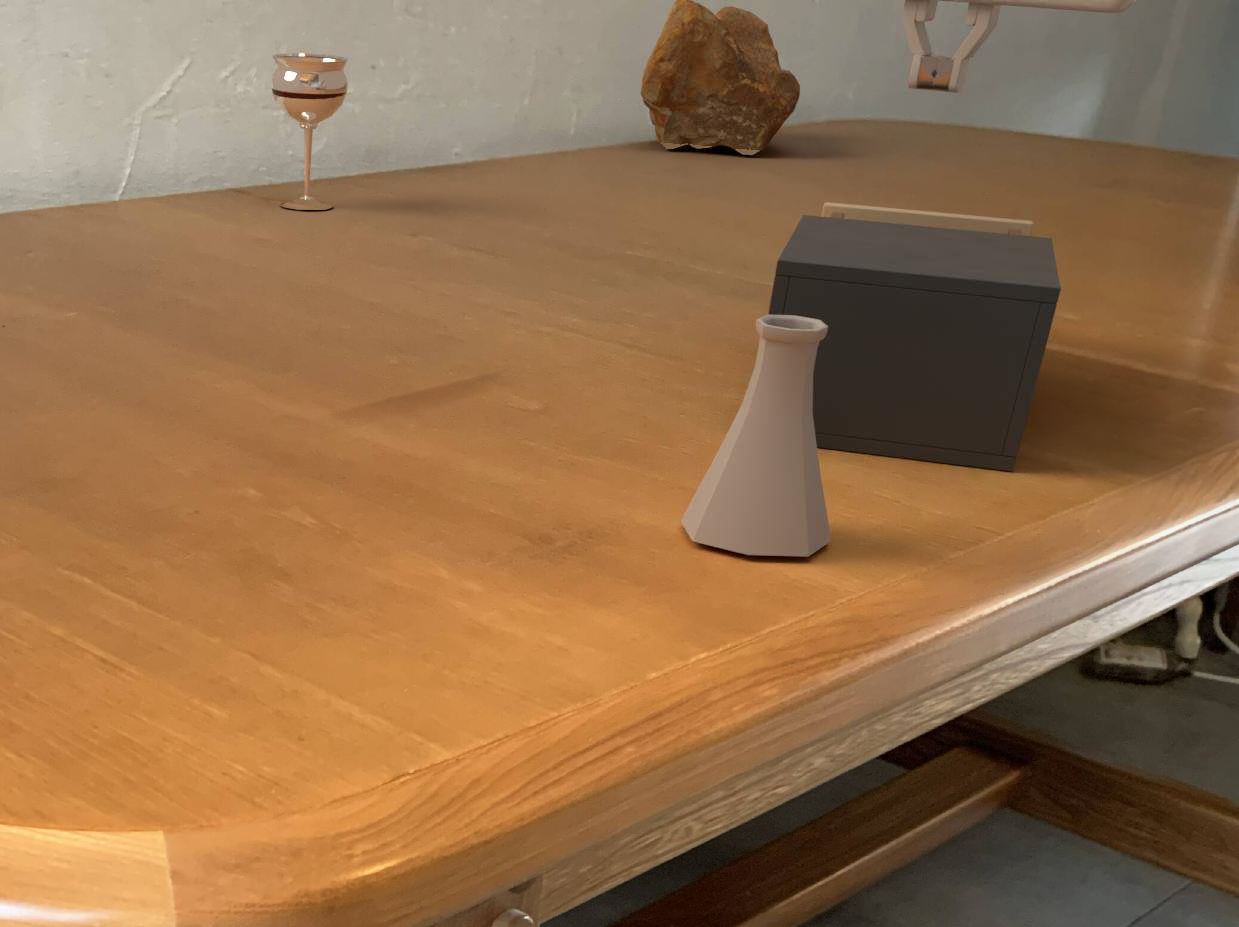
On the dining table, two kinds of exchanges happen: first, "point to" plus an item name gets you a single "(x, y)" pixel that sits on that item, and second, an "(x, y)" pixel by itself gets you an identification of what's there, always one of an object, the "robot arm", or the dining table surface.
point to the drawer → (928, 219)
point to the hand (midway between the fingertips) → (934, 89)
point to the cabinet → (921, 335)
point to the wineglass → (309, 93)
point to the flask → (769, 455)
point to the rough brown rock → (717, 80)
